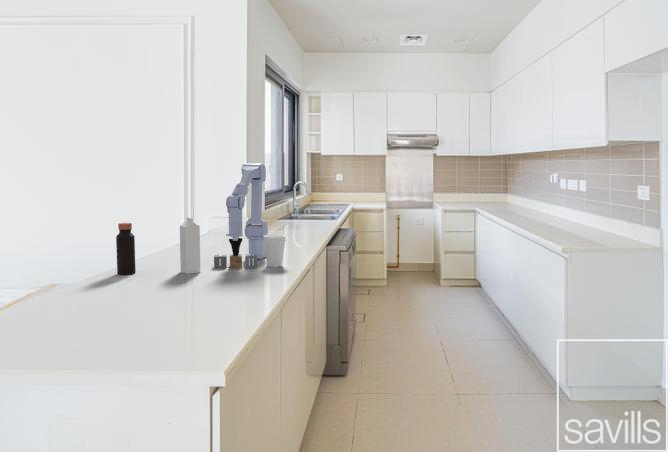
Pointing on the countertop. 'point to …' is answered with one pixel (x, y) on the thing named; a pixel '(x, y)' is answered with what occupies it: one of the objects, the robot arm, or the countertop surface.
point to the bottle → (125, 250)
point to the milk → (190, 247)
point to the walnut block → (236, 261)
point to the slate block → (250, 260)
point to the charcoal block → (220, 261)
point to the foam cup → (274, 249)
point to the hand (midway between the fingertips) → (235, 255)
